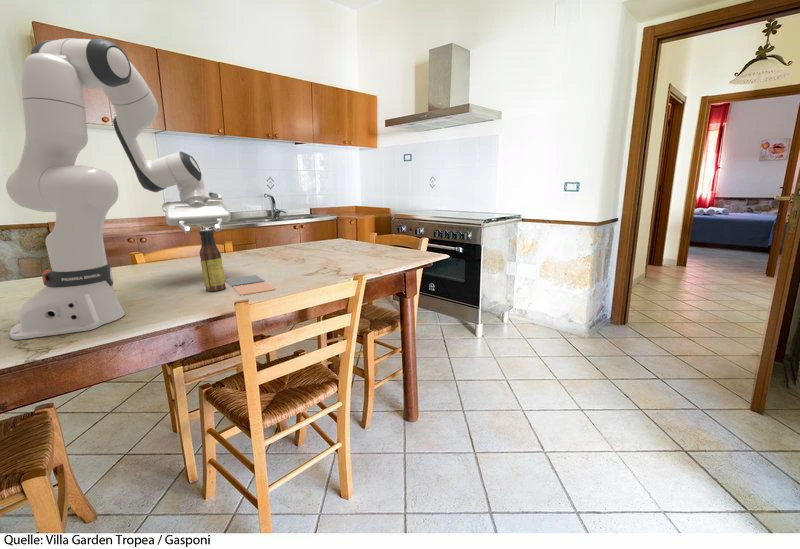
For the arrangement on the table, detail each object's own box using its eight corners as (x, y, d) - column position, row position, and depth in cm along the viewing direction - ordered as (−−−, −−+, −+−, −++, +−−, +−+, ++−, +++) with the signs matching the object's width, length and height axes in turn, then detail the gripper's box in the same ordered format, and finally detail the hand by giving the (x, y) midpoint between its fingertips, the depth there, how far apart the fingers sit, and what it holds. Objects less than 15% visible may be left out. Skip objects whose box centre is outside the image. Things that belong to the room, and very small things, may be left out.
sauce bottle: (229, 286, 132) (222, 228, 127) (219, 292, 126) (211, 231, 121) (211, 286, 133) (203, 228, 128) (200, 291, 127) (192, 231, 122)
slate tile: (232, 288, 132) (231, 285, 132) (224, 282, 141) (224, 279, 141) (264, 283, 138) (264, 280, 138) (255, 277, 147) (255, 274, 147)
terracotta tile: (240, 297, 122) (239, 294, 122) (233, 289, 131) (233, 286, 131) (275, 292, 128) (275, 289, 127) (266, 284, 137) (266, 281, 136)
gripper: (160, 195, 130) (167, 227, 125) (225, 194, 141) (235, 223, 136) (161, 208, 135) (168, 240, 129) (224, 205, 146) (233, 234, 141)
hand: (203, 231), depth 133 cm, fingers open, 8 cm apart
